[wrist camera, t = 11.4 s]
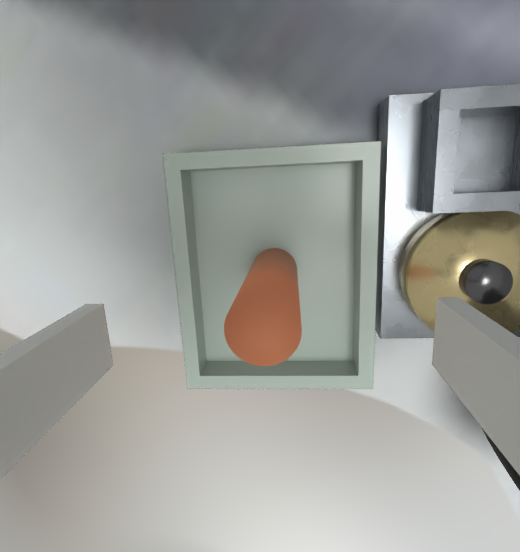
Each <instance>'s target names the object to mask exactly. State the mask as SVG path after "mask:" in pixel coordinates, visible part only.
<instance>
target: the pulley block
mask: <svg viewBox="0 0 520 552" xmlns="http://www.w3.org/2000/svg"><path fill="white" fill-rule="evenodd" d="M378 141H381V158H380V189H379V220H378V252H377V283H376V314H375V330H376V332H377V333H378V335H379V337H380V338H434V332H435V319H436V305H437V298H446V297H459V298H460V299H462V300H463V301H465V302H466V303H468V304H469V305H471V306H472V307H474V308H475V309H477V310H478V311H480V312H481V313H483V314H484V315H486V316H487V317H489V318H490V319H492V320H493V321H495V322H496V323H498V324H499V325H501V326H502V327H504V328H505V329H507V330H508V331H510V332H511V333H513V334H514V335H516V336H517V337H520V84H510V85H496V86H481V87H467V88H452V89H441V90H439V91H438V92H434V93H420V94H405V95H390V96H388V97H387V98H386V99H385V100H384V101H383V102H382V103H381V104H380V105H379V115H378Z"/></svg>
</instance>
